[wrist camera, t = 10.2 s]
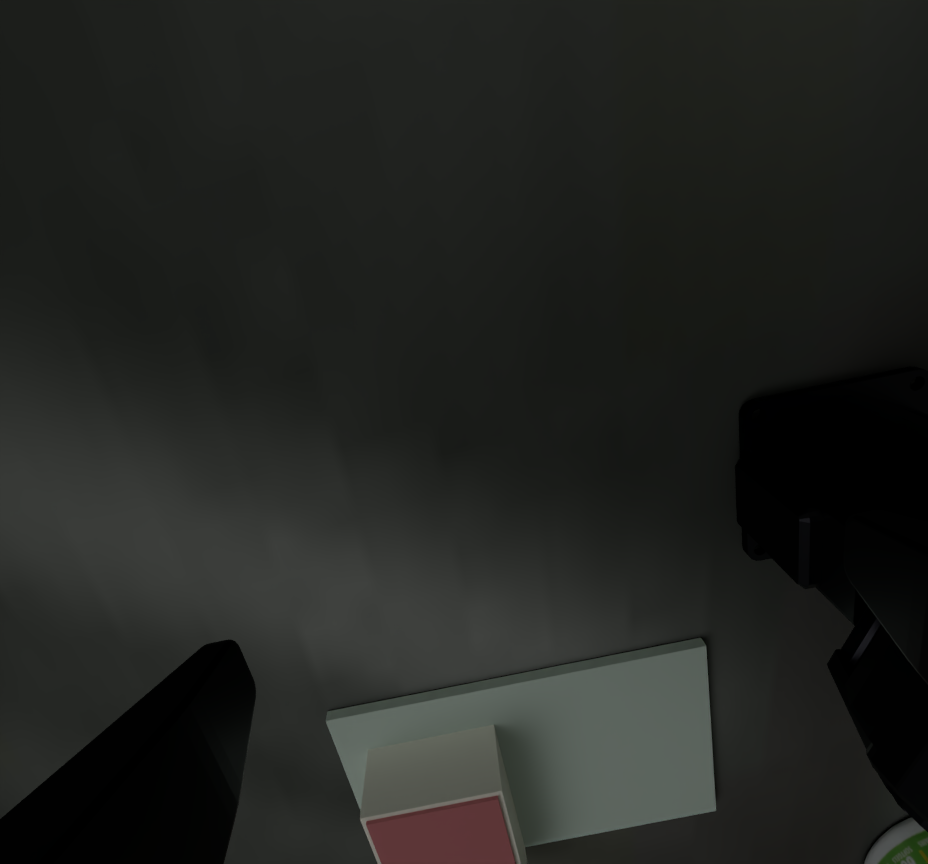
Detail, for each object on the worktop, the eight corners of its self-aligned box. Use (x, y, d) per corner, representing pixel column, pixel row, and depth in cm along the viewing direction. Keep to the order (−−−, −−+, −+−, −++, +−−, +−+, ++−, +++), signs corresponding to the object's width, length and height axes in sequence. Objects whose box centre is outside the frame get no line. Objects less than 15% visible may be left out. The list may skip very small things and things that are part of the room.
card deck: (524, 846, 27) (536, 923, 25) (412, 868, 28) (409, 947, 25) (493, 724, 25) (502, 794, 22) (367, 749, 25) (359, 822, 22)
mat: (701, 637, 24) (706, 646, 24) (711, 800, 28) (716, 810, 27) (327, 711, 24) (325, 720, 24) (385, 862, 28) (385, 873, 28)
